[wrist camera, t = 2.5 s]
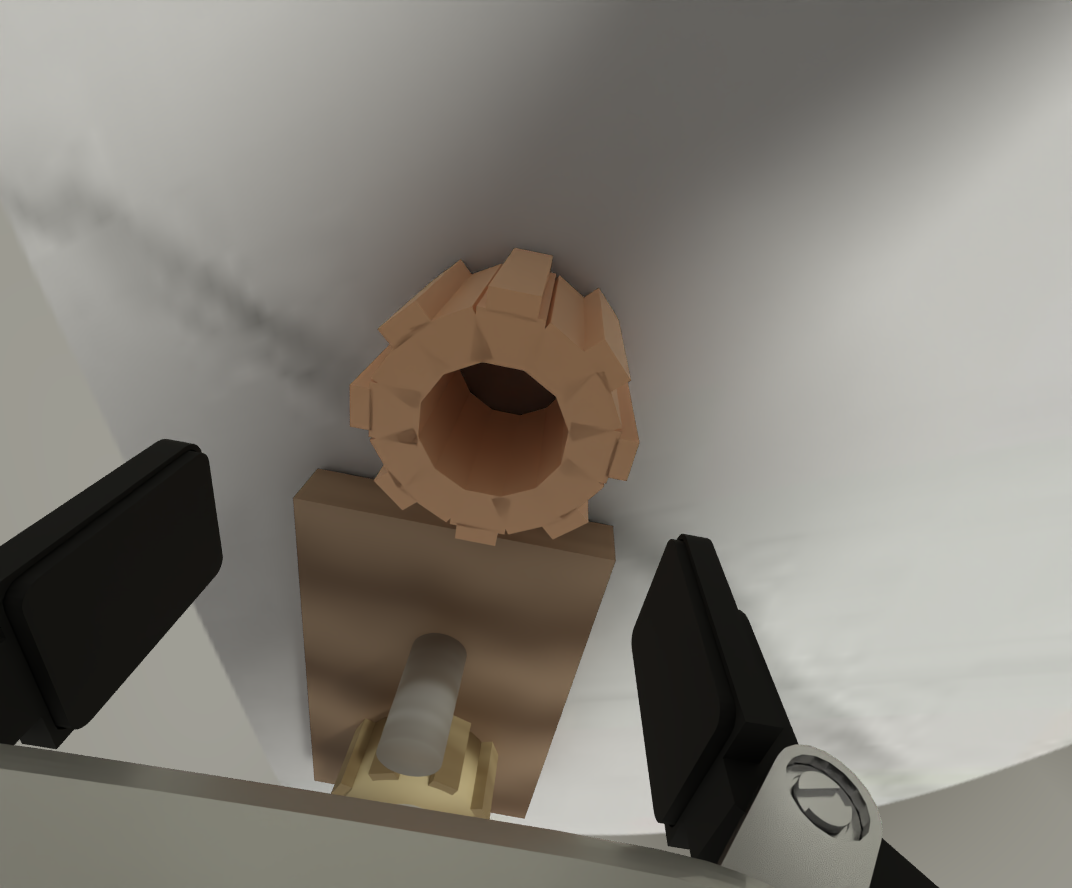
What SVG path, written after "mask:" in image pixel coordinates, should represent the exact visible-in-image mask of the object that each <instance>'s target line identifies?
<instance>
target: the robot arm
mask: <svg viewBox="0 0 1072 888" xmlns="http://www.w3.org/2000/svg"><path fill="white" fill-rule="evenodd" d="M222 560H223V555H222V548H221V541H220V534H219V527H218V520H217V513H216V507H215V500H214V493H213V486H212V479H211V472H210V465H209V460H208V457H207V455H206V454H204V453H202V452H201V449H200V448H199V447H198V446H197V445H195V444H191V443H185V442H180V441H175V440H169V439H162V440H160V441H157V442H156V443H154V444H153V445H151V446H150V447H148V448H147V449H145V450H144V451H142V452H141V453H139V454H138V455H136V456H135V457H133V458H132V459H130V460H129V461H127V462H126V463H124V464H123V465H121V466H120V467H118V468H117V469H115V470H114V471H113V472H111V473H109V474H108V475H106V476H105V477H103V478H102V479H100V480H99V481H97V482H96V483H94V484H93V485H91V486H90V487H88V488H87V489H85V490H84V491H83V492H81V493H79V494H78V495H76V496H75V497H73V498H72V499H70V500H69V501H67V502H66V503H64V504H63V505H61V506H60V507H58V508H57V509H55V510H54V511H53V512H51V513H49V514H48V515H46V516H45V517H44V518H42V519H40V520H39V521H37V522H36V523H34V524H33V525H31V526H30V527H28V528H27V529H25V530H24V531H22V532H21V533H19V534H18V535H16V536H15V537H13V538H12V539H10V540H9V541H7V542H6V543H4V544H3V545H2V546H0V888H939V887H938V886H936V885H935V884H934V883H933V882H932V881H931V880H929V879H928V878H927V877H926V876H925V875H924V874H923V873H921V872H920V871H919V870H918V869H917V868H916V867H915V866H913V865H912V864H911V863H910V862H909V861H908V860H907V859H905V858H904V857H903V856H902V855H901V854H900V853H898V852H897V851H896V850H895V849H894V848H893V847H892V846H891V845H889V844H888V843H887V842H886V841H885V840H884V839H883V838H882V822H881V818H880V815H879V811H878V808H877V806H876V804H875V802H874V800H873V799H872V797H871V795H870V793H869V791H868V790H867V788H866V787H865V786H864V785H863V783H862V782H861V781H860V780H859V779H858V777H857V776H856V775H855V774H854V773H853V772H852V771H851V770H850V769H849V768H848V767H846V766H845V765H844V764H843V763H842V762H841V761H839V760H838V759H836V758H835V757H833V756H831V755H830V754H828V753H827V752H825V751H823V750H820V749H817V748H815V747H812V746H809V745H799V744H798V742H797V739H796V737H795V734H794V732H793V729H792V727H791V724H790V722H789V719H788V717H787V714H786V712H785V709H784V707H783V704H782V702H781V699H780V697H779V694H778V692H777V689H776V687H775V685H774V682H773V680H772V677H771V675H770V672H769V670H768V667H767V665H766V662H765V660H764V657H763V655H762V652H761V650H760V647H759V645H758V642H757V640H756V637H755V635H754V632H753V630H752V627H751V625H750V622H749V620H748V618H747V616H746V615H745V614H744V613H743V612H742V611H741V610H738V608H737V605H736V603H735V600H734V598H733V595H732V592H731V590H730V587H729V585H728V582H727V580H726V577H725V574H724V572H723V569H722V567H721V564H720V561H719V559H718V556H717V554H716V551H715V549H714V546H713V543H712V542H711V540H710V539H708V538H703V537H697V536H692V535H686V534H681V535H680V536H679V537H678V538H677V540H674V539H670V540H669V541H668V543H667V545H666V548H665V551H664V553H663V556H662V558H661V561H660V563H659V566H658V568H657V571H656V573H655V576H654V578H653V581H652V583H651V586H650V588H649V591H648V594H647V596H646V599H645V601H644V604H643V606H642V609H641V611H640V614H639V616H638V619H637V621H636V624H635V626H634V629H633V633H632V653H633V660H634V668H635V675H636V683H637V690H638V698H639V705H640V712H641V720H642V727H643V735H644V742H645V750H646V757H647V765H648V772H649V779H650V787H651V794H652V802H653V809H654V815H655V818H656V820H657V822H658V823H663V824H665V830H666V837H667V843H668V846H671V847H677V848H683V849H690V854H691V857H688V856H684V855H680V854H675V853H671V852H667V851H663V850H659V849H654V848H648V847H643V846H638V845H632V844H627V843H622V842H616V841H611V840H605V839H600V838H594V837H589V836H583V835H578V834H573V833H567V832H562V831H556V830H550V829H544V828H538V827H532V826H526V825H520V824H513V823H507V822H501V821H495V820H489V819H483V818H477V817H471V816H465V815H459V814H452V813H446V812H440V811H434V810H428V809H422V808H416V807H410V806H404V805H398V804H391V803H385V802H379V801H372V800H366V799H360V798H354V797H347V796H341V795H335V794H328V793H322V792H316V791H310V790H303V789H297V788H291V787H284V786H278V785H271V784H265V783H258V782H253V781H246V780H239V779H233V778H227V777H220V776H214V775H208V774H202V773H195V772H188V771H182V770H175V769H169V768H162V767H156V766H149V765H142V764H136V763H130V762H123V761H117V760H110V759H103V758H97V757H90V756H83V755H77V754H70V753H64V752H57V751H51V750H44V749H37V748H30V747H22V746H14V745H15V744H16V742H17V741H18V740H19V739H20V740H21V742H22V744H27V745H33V746H40V747H47V748H52V749H57V748H58V747H59V746H60V745H61V744H62V743H63V741H64V740H65V739H66V738H67V737H68V736H69V735H70V733H71V732H72V731H73V730H74V729H80V728H82V727H83V726H85V725H86V724H88V722H90V720H92V718H93V717H94V716H95V715H96V714H97V713H98V712H99V710H100V709H101V708H102V707H103V706H104V705H105V703H106V702H107V701H108V700H109V699H110V697H111V696H112V695H113V694H114V693H115V691H117V690H118V688H119V687H120V686H121V685H122V684H123V683H124V681H125V680H126V679H127V678H128V677H129V676H130V674H131V673H132V672H133V671H134V670H135V669H136V667H137V666H138V665H139V664H140V663H141V662H142V661H143V659H144V658H145V657H146V656H147V655H148V654H149V652H150V651H151V650H152V649H153V648H154V647H155V645H156V644H157V643H158V642H159V641H160V640H161V639H162V637H163V636H164V635H165V634H166V633H167V631H168V630H169V629H170V628H171V627H172V626H173V624H174V623H175V622H176V621H177V620H178V618H179V617H181V615H182V614H183V613H184V612H185V611H186V609H187V608H188V607H189V606H190V605H191V604H192V603H193V601H194V600H195V599H196V598H197V597H198V596H199V594H200V593H201V592H202V591H203V590H204V589H205V588H206V586H207V585H208V584H209V583H210V582H211V581H212V579H213V578H214V577H215V576H216V575H217V573H218V572H219V570H220V567H221V565H222Z"/></svg>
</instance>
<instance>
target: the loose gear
mask: <svg viewBox="0 0 1072 888" xmlns="http://www.w3.org/2000/svg"><path fill="white" fill-rule="evenodd" d="M552 259H553V256H552V255H548V254H543V253H538V252H533V251H528V250H523V249H519V248H514V249H513V251H512V252H511V254H510V255H509V256H508V258H507V259H506V261H505V262H504V264H499V265H496V266H494V267H491V268H488V269H485V270H483V271H480V272H477V273H474V274H471V273H470V271H469V270H468V269H467V267H466V266H465V264H464V263H463V262H462V260H459V261H458V262H457V263H455V264H454V265H453V266H451V267H450V268H449V269H447V270H446V271H445V272H443V273H442V274H441V275H439V276H438V277H437V278H435V279H434V280H433V281H431V282H430V283H429V284H428V285H427V286H426V287H425V288H424V289H422V290H421V291H420V292H419V293H418V294H417V295H416V296H414V297H413V298H412V299H411V300H410V301H409V302H408V303H406V304H405V305H404V306H403V307H402V308H401V309H400V310H398V311H397V312H396V313H395V314H394V315H393V316H392V317H390V318H389V319H388V320H387V321H386V322H385V323H384V324H382V325H381V326H380V327H379V328H378V330H379V332H380V333H381V334H382V335H383V336H384V338H385V339H386V340H387V341H388V342H389V344H390V345H389V346H388V347H387V348H386V349H385V350H384V351H383V352H382V353H381V354H380V355H379V356H378V357H377V358H376V359H375V360H374V361H373V362H372V363H371V364H370V365H369V366H368V367H367V368H366V369H365V370H364V371H363V372H362V373H361V374H360V375H359V376H358V377H357V378H356V379H355V380H354V381H353V382H352V383H351V384H350V427H355V428H360V429H365V430H369V437H372V438H371V439H370V442H371V443H372V445H373V447H374V449H375V450H376V452H377V454H378V456H379V457H380V459H381V461H382V462H383V464H384V465H383V467H382V468H381V470H380V471H379V473H378V475H377V476H376V478H375V479H374V481H375V483H376V484H377V485H378V486H379V487H380V488H381V489H382V490H383V491H384V492H385V493H386V494H387V495H388V496H389V497H390V498H391V499H392V500H393V501H394V502H395V503H396V504H397V505H398V506H399V507H400V508H401V509H402V510H404V509H406V508H407V507H409V506H411V505H413V504H414V503H416V502H417V503H418V504H420V505H421V506H423V507H424V508H426V509H427V510H429V511H430V512H432V513H433V514H435V515H436V516H437V517H439V518H440V519H442V520H443V521H445V522H447V521H448V520H449V519H450V524H453V525H457V526H456V534H455V538H456V539H461V540H466V541H471V542H477V543H482V544H487V545H492V546H495V544H496V540H497V535H498V533H499V534H505V529H506V531H507V533H508V534H512V533H517V532H521V531H525V530H530V529H534V528H539V527H543V529H544V530H545V531H546V532H547V533H548V535H549V536H550V537H551V538H552V539H555V538H557V537H559V536H561V535H563V534H565V533H567V532H570V531H572V530H574V529H576V528H578V527H580V526H582V525H584V524H586V523H588V500H589V499H590V498H591V497H593V496H594V495H595V494H596V493H597V492H598V491H600V490H601V489H602V488H603V487H604V483H607V480H608V478H613V479H618V480H623V481H627V479H628V476H629V473H630V470H631V467H632V464H633V461H634V457H635V454H636V451H637V448H638V445H639V438H638V433H637V428H636V423H635V417H634V412H633V407H632V402H631V397H630V391H629V386H628V382H629V381H631V377H630V373H629V368H628V363H627V358H626V353H625V349H624V344H623V339H622V334H621V330H620V325H619V320H618V318H617V316H616V315H615V313H614V312H613V310H612V308H611V307H610V305H609V303H608V302H607V300H606V298H605V297H604V295H603V294H602V292H601V290H600V289H599V288H598V289H596V290H595V291H593V292H592V293H590V294H589V295H587V296H586V297H583V296H582V295H581V294H580V293H578V292H577V291H576V290H575V289H574V288H573V287H572V286H571V285H570V284H569V283H567V282H566V281H565V280H564V279H563V278H562V277H561V276H560V275H559V276H558V278H557V279H556V280H555V278H556V273H551V272H550V270H551V264H552ZM481 362H484V363H489V364H494V365H499V366H504V367H509V368H514V369H519V370H524V371H525V372H526V373H528V374H529V375H530V376H531V377H533V378H534V379H535V380H536V381H537V382H539V383H540V384H541V385H542V386H543V387H545V388H546V389H547V390H548V391H550V392H551V393H552V394H553V395H554V396H556V399H555V400H554V401H553V402H552V403H551V404H550V405H549V406H548V407H547V408H544V409H541V410H537V411H534V412H530V413H527V414H523V415H516V414H511V413H506V412H501V411H496V410H492V409H491V408H489V407H488V406H487V405H486V404H484V403H483V402H482V401H480V400H479V399H478V398H477V397H475V396H474V395H473V394H471V393H470V391H469V389H468V387H467V385H466V383H465V380H464V378H463V376H462V374H461V371H460V369H462V368H465V367H468V366H471V365H475V364H478V363H481Z"/></svg>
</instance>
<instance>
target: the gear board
mask: <svg viewBox="0 0 1072 888" xmlns="http://www.w3.org/2000/svg"><path fill="white" fill-rule="evenodd" d="M293 503H294V517H295V530H296V543H297V556H298V569H299V583H300V596H301V609H302V622H303V636H304V649H305V662H306V675H307V689H308V702H309V715H310V728H311V742H312V755H313V768H314V781H320V782H325V783H331V784H335V785H334V787H333V790H332V792H331V794H335V795H341V796H347V797H354V798H360V799H366V800H372V801H379V802H385V803H391V804H398V805H404V806H410V807H416V808H422V809H428V810H434V811H440V812H446V813H452V814H459V815H465V816H471V817H477V818H483V819H490V812H491V813H496V814H502V815H507V816H513V817H518V818H524V819H525V816H526V813H527V810H528V807H529V804H530V802H531V799H532V796H533V793H534V790H535V787H536V785H537V782H538V779H539V776H540V773H541V770H542V768H543V765H544V762H545V759H546V756H547V753H548V751H549V748H550V745H551V742H552V739H553V736H554V734H555V731H556V728H557V725H558V722H559V720H560V717H561V714H562V711H563V708H564V705H565V703H566V700H567V697H568V694H569V691H570V688H571V686H572V683H573V680H574V677H575V674H576V671H577V669H578V666H579V663H580V660H581V657H582V654H583V652H584V649H585V646H586V643H587V640H588V637H589V635H590V632H591V629H592V626H593V623H594V621H595V618H596V615H597V612H598V609H599V606H600V604H601V601H602V598H603V595H604V592H605V589H606V587H607V584H608V581H609V578H610V575H611V572H612V570H613V567H614V564H615V561H616V559H615V546H614V534H613V526H610V525H605V524H599V523H594V522H589V521H588V523H586V524H584V525H582V526H580V527H578V528H576V529H574V530H572V531H570V532H567V533H565V534H563V535H561V536H559V537H557V538H555V539H552V538H551V537H550V536H549V535H548V533H547V532H546V531H545V530H544V529H543V527H539V528H534V529H530V530H525V531H521V532H517V533H512V534H508V533H507V531H506V529H505V534H499V533H498V535H497V540H496V544H495V546H492V545H487V544H482V543H477V542H471V541H466V540H461V539H456V538H455V534H456V526H457V525H453V524H450V519H449V520H448V521H447V522H445V521H443V520H442V519H440V518H439V517H437V516H436V515H435V514H433V513H432V512H430V511H429V510H427V509H426V508H424V507H423V506H421V505H420V504H418V503H417V502H416V503H414V504H413V505H411V506H409V507H407V508H406V509H404V510H402V509H401V508H400V507H399V506H398V505H397V504H396V503H395V502H394V501H393V500H392V499H391V498H390V497H389V496H388V495H387V494H386V493H385V492H384V491H383V490H382V489H381V488H380V487H379V486H378V485H377V484H376V483H375V481H374V479H369V478H364V477H359V476H354V475H349V474H344V473H339V472H334V471H328V470H323V469H317V470H316V471H315V472H314V473H313V475H312V476H311V477H310V478H309V480H308V481H307V482H306V483H305V484H304V486H303V487H302V488H301V489H300V490H299V492H298V493H297V494H296V495H295V496H294V498H293Z"/></svg>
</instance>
